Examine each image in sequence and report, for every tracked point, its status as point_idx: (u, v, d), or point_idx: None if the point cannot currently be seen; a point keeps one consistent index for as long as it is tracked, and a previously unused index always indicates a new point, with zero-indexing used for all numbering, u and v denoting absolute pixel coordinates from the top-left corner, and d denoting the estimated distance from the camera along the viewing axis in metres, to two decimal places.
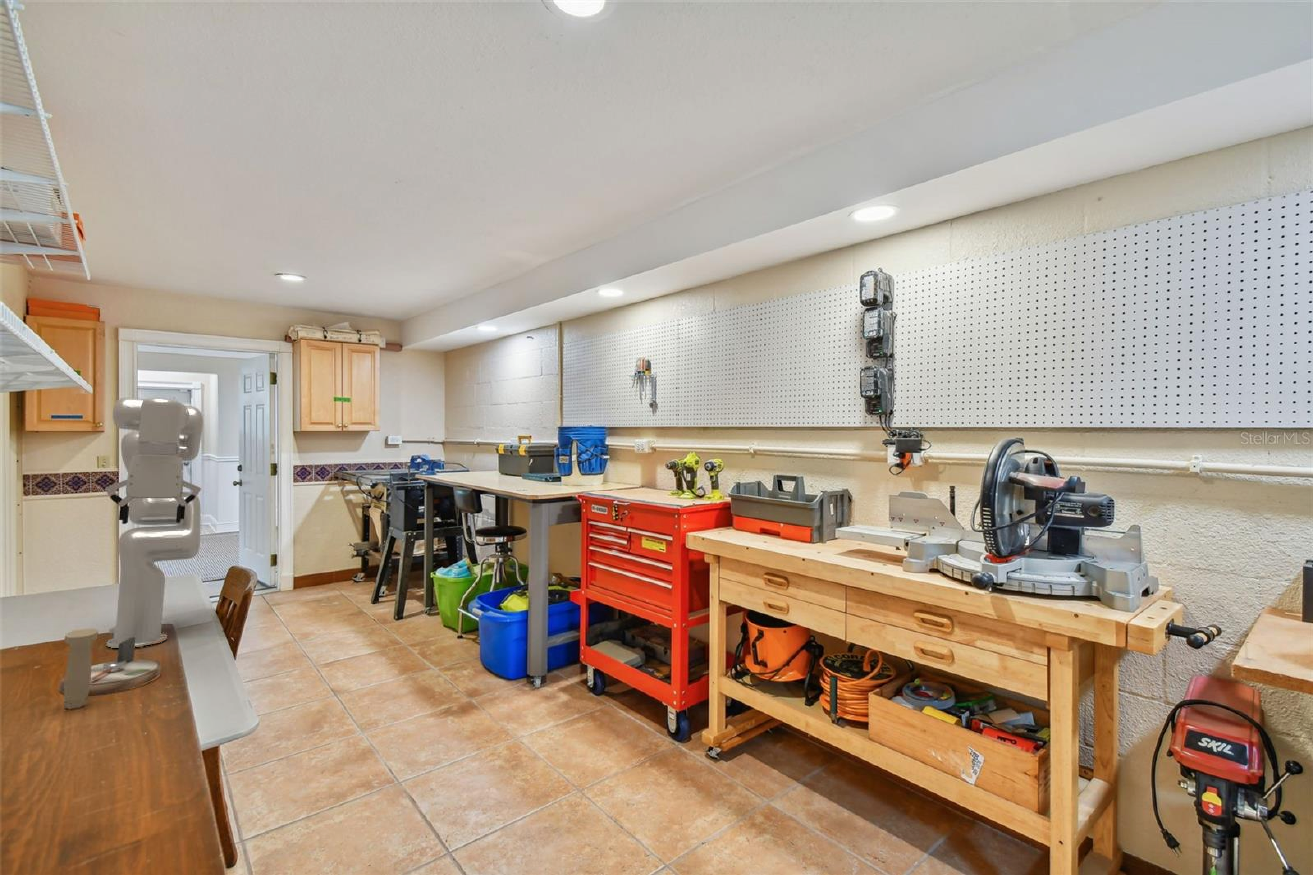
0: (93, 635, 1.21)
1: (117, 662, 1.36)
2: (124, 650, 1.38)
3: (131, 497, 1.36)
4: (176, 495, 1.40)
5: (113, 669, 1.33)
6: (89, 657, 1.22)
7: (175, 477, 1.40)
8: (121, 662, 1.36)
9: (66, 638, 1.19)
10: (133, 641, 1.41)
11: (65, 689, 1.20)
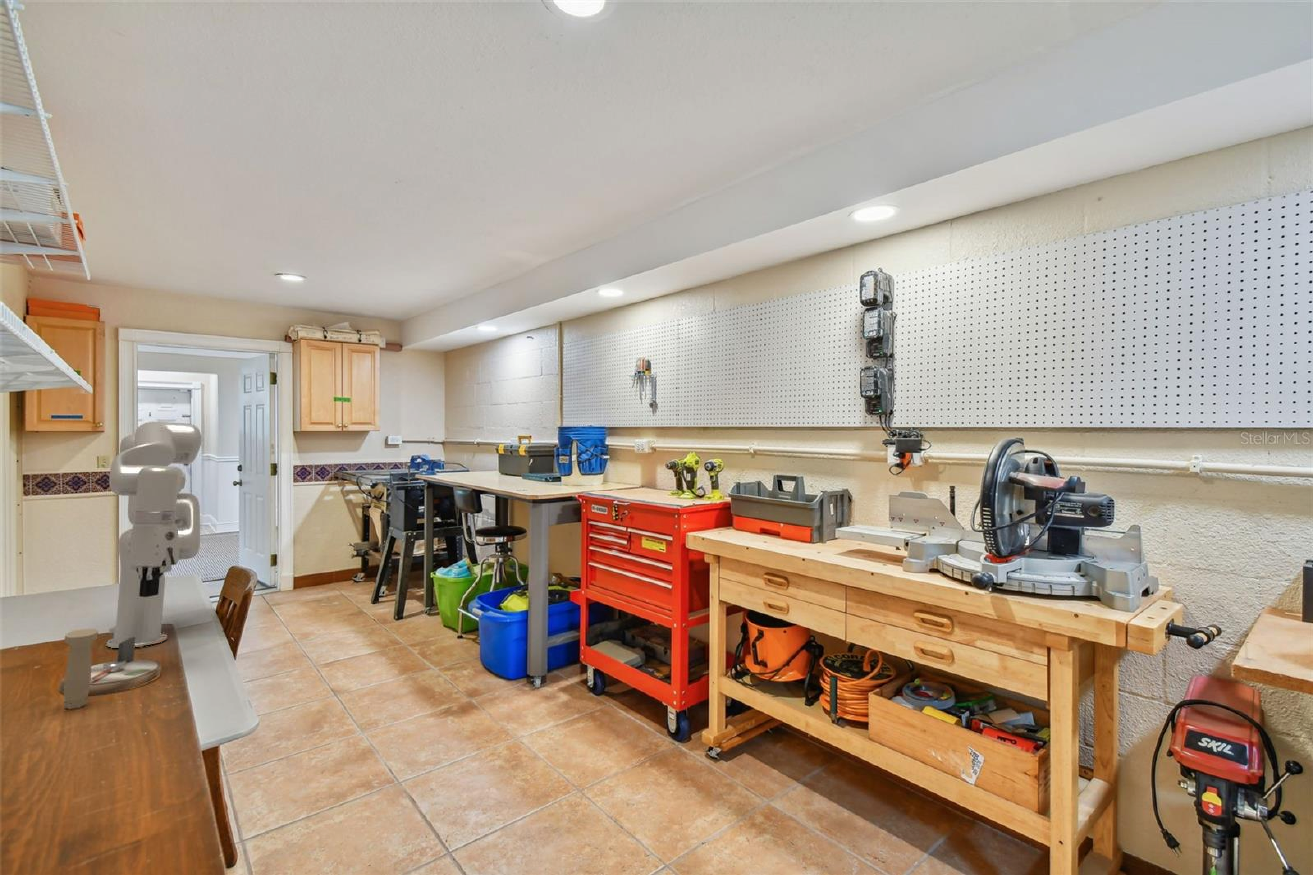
0: (93, 635, 1.21)
1: (117, 662, 1.36)
2: (124, 650, 1.38)
3: (131, 564, 1.40)
4: (157, 565, 1.38)
5: (113, 669, 1.33)
6: (89, 657, 1.22)
7: (155, 546, 1.38)
8: (121, 662, 1.36)
9: (66, 638, 1.19)
10: (133, 641, 1.41)
11: (65, 689, 1.20)
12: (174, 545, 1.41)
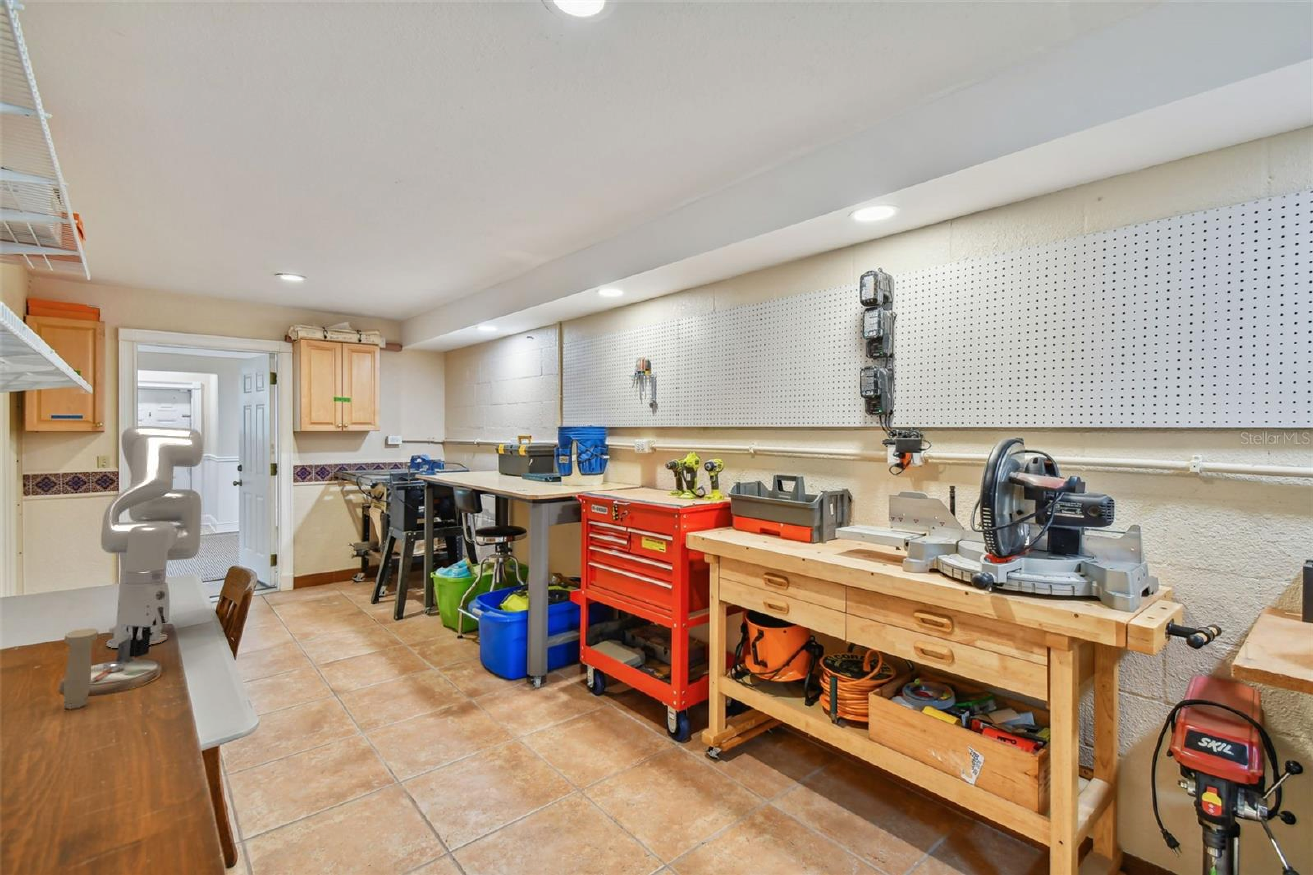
0: (93, 635, 1.21)
1: (117, 662, 1.36)
2: (123, 650, 1.38)
3: (121, 624, 1.40)
4: (147, 625, 1.38)
5: (114, 669, 1.34)
6: (89, 657, 1.22)
7: (146, 607, 1.38)
8: (121, 662, 1.36)
9: (66, 638, 1.19)
10: None
11: (65, 689, 1.20)
12: (165, 604, 1.41)
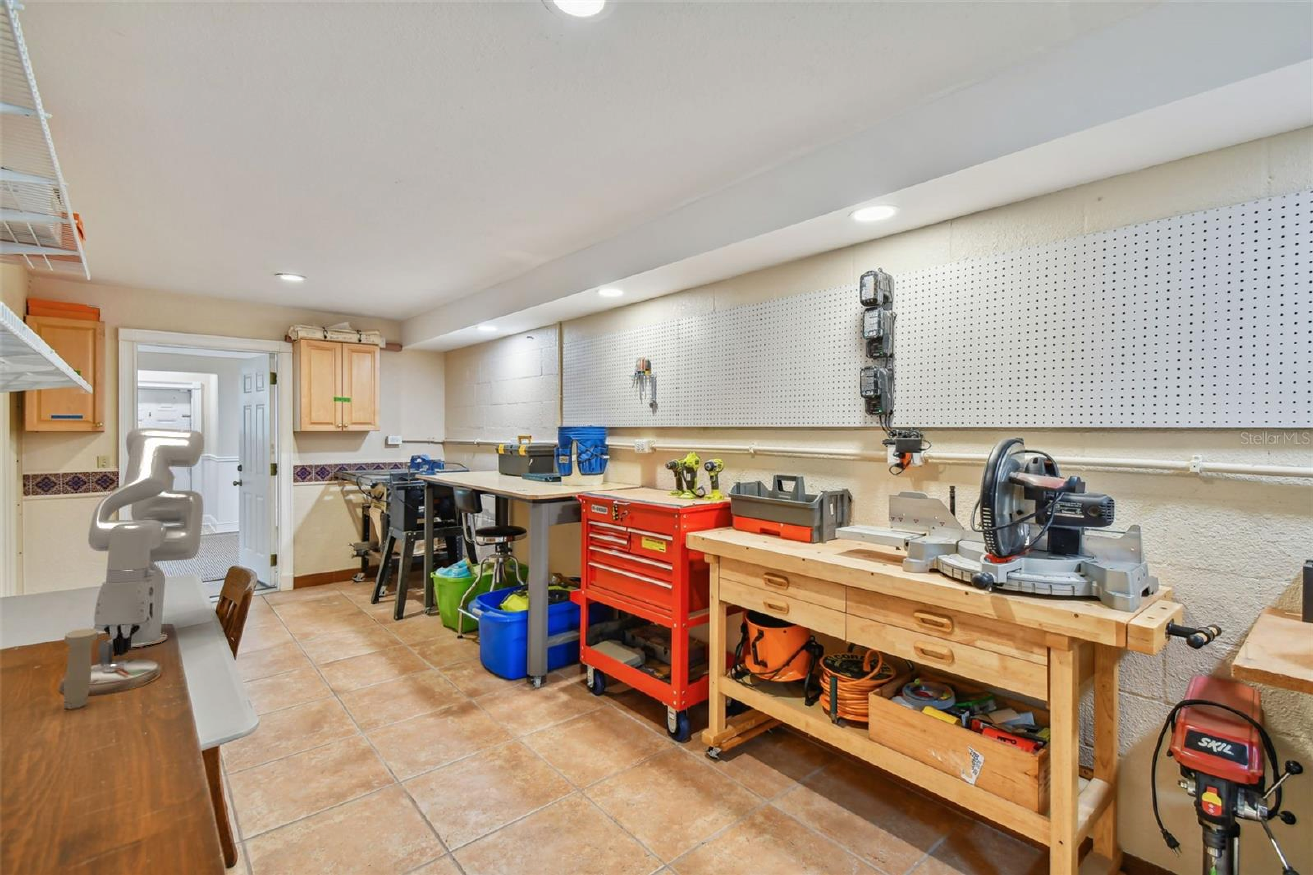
0: (93, 635, 1.21)
1: (115, 662, 1.35)
2: None
3: (99, 625, 1.37)
4: (141, 621, 1.39)
5: (120, 667, 1.35)
6: (89, 657, 1.22)
7: (140, 603, 1.39)
8: (119, 661, 1.36)
9: (66, 638, 1.19)
10: None
11: (65, 689, 1.20)
12: (153, 600, 1.43)
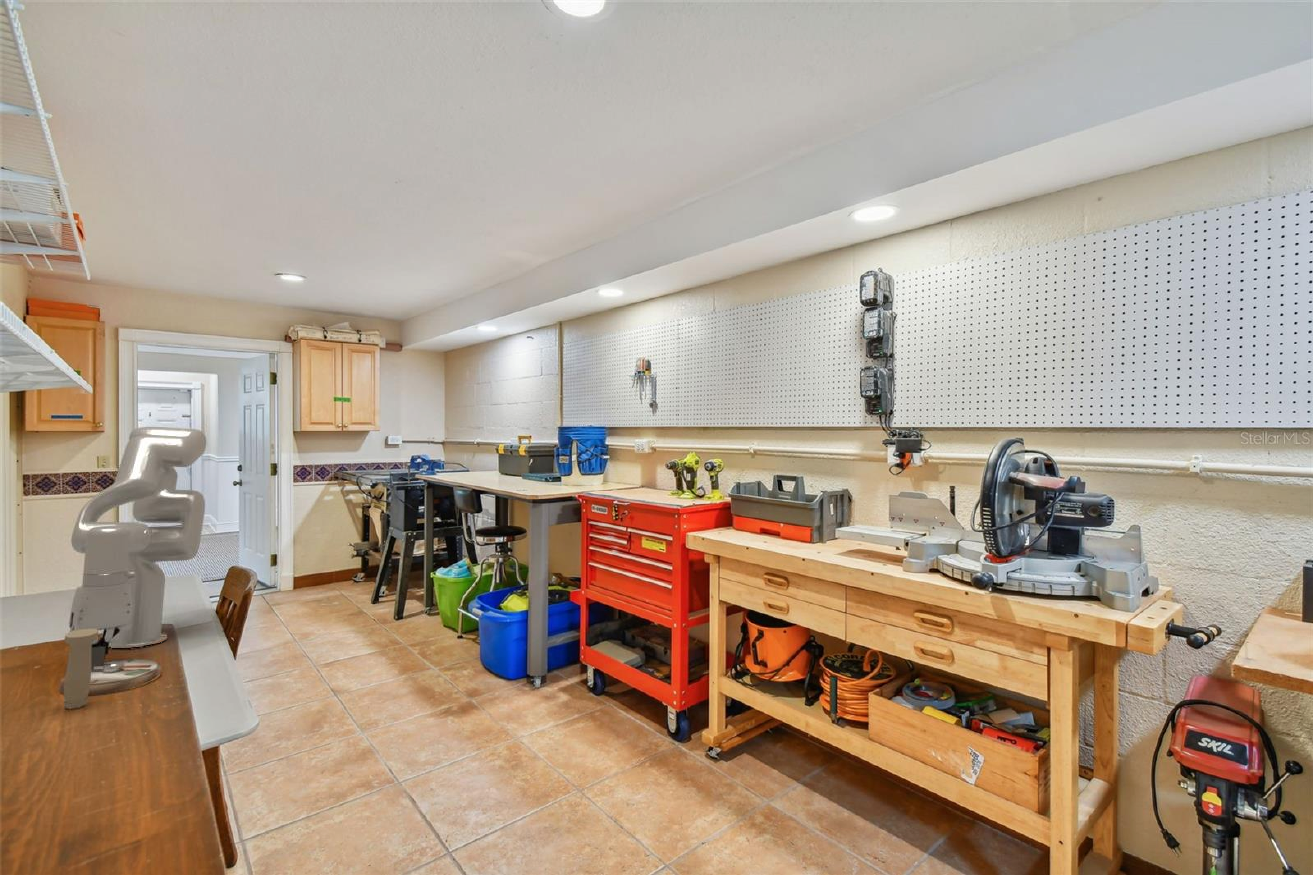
0: (93, 635, 1.22)
1: (112, 662, 1.35)
2: None
3: None
4: (126, 623, 1.39)
5: None
6: (89, 657, 1.22)
7: (126, 605, 1.39)
8: (115, 661, 1.36)
9: (66, 638, 1.19)
10: None
11: (65, 689, 1.20)
12: None
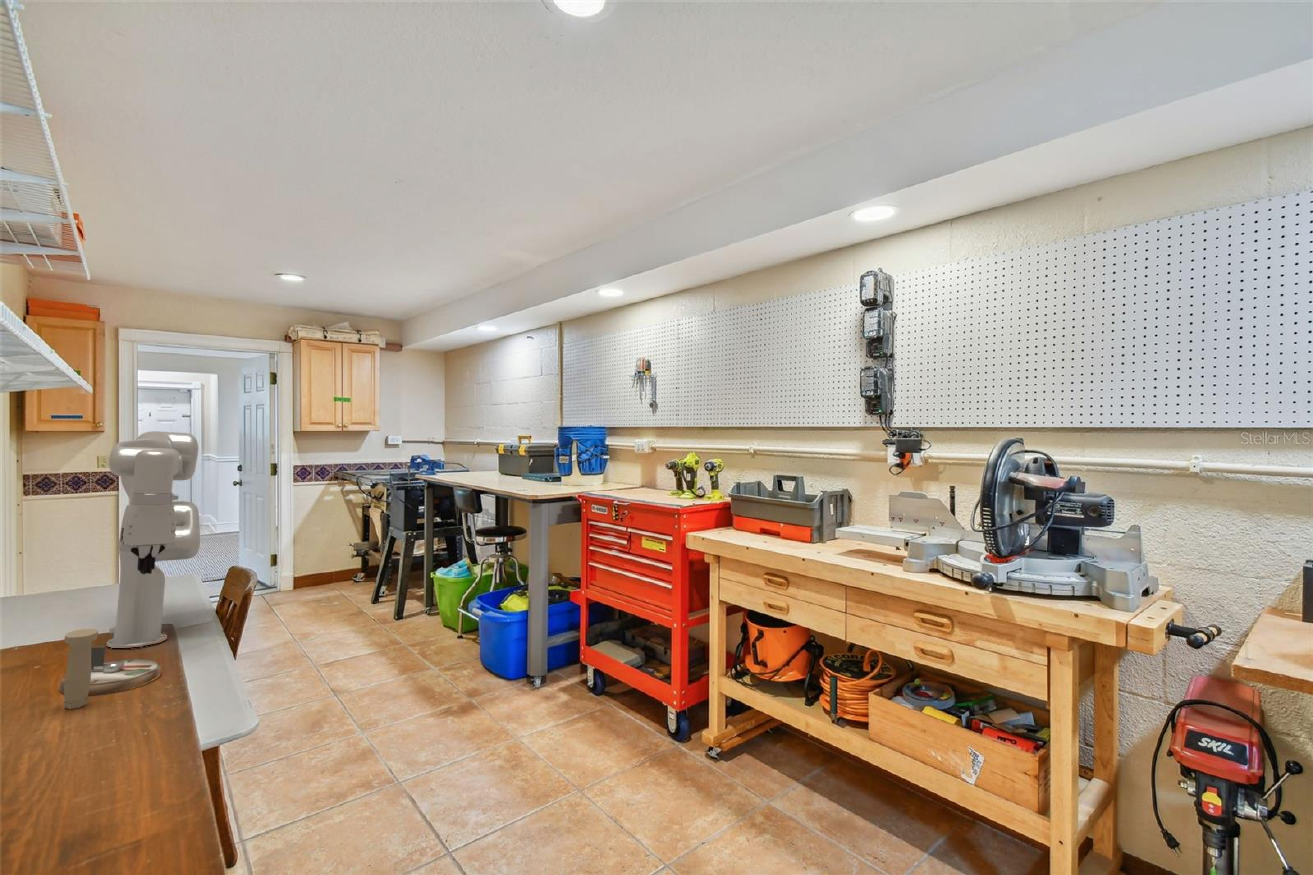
0: (93, 635, 1.21)
1: (112, 662, 1.35)
2: None
3: (129, 546, 1.43)
4: (171, 541, 1.49)
5: None
6: (89, 657, 1.22)
7: (170, 524, 1.49)
8: (115, 661, 1.36)
9: (66, 638, 1.19)
10: None
11: (65, 689, 1.20)
12: None
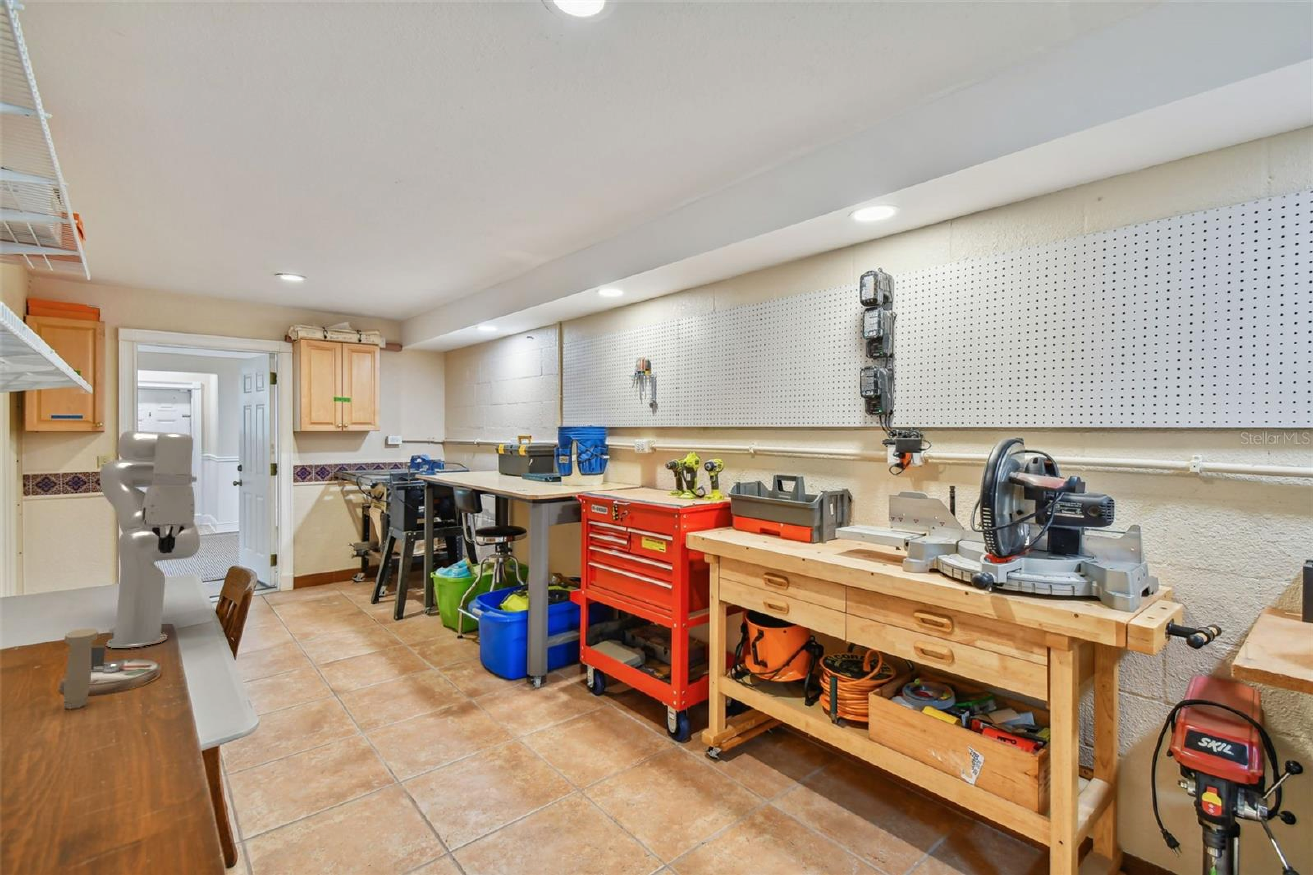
0: (93, 635, 1.22)
1: (112, 662, 1.35)
2: None
3: (151, 525, 1.47)
4: (190, 521, 1.54)
5: None
6: (89, 657, 1.22)
7: (190, 505, 1.53)
8: (115, 661, 1.36)
9: (66, 638, 1.19)
10: None
11: (65, 689, 1.20)
12: None
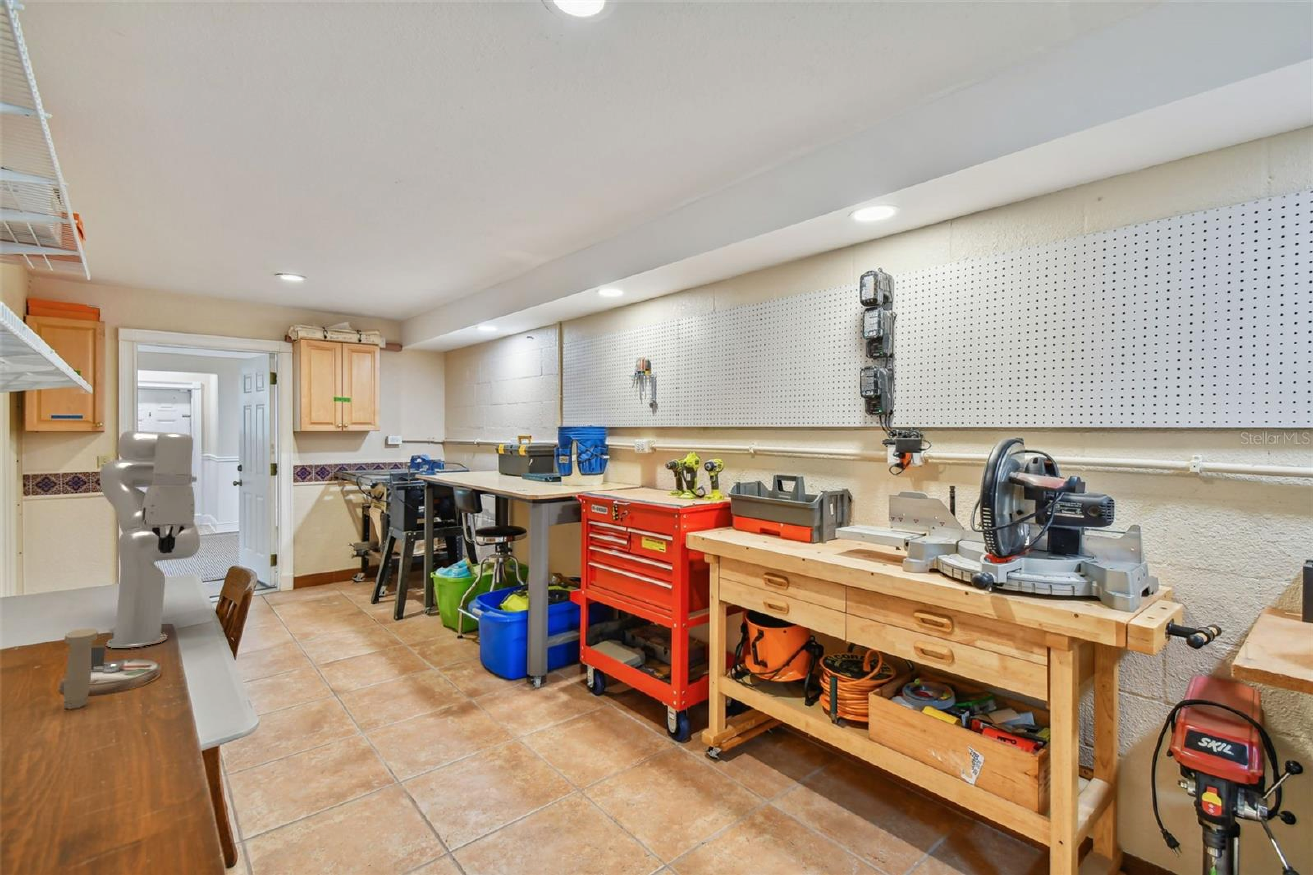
0: (93, 635, 1.21)
1: (112, 662, 1.35)
2: None
3: (151, 525, 1.47)
4: (190, 521, 1.54)
5: None
6: (89, 657, 1.22)
7: (190, 505, 1.53)
8: (115, 661, 1.36)
9: (66, 638, 1.19)
10: None
11: (65, 689, 1.20)
12: None
